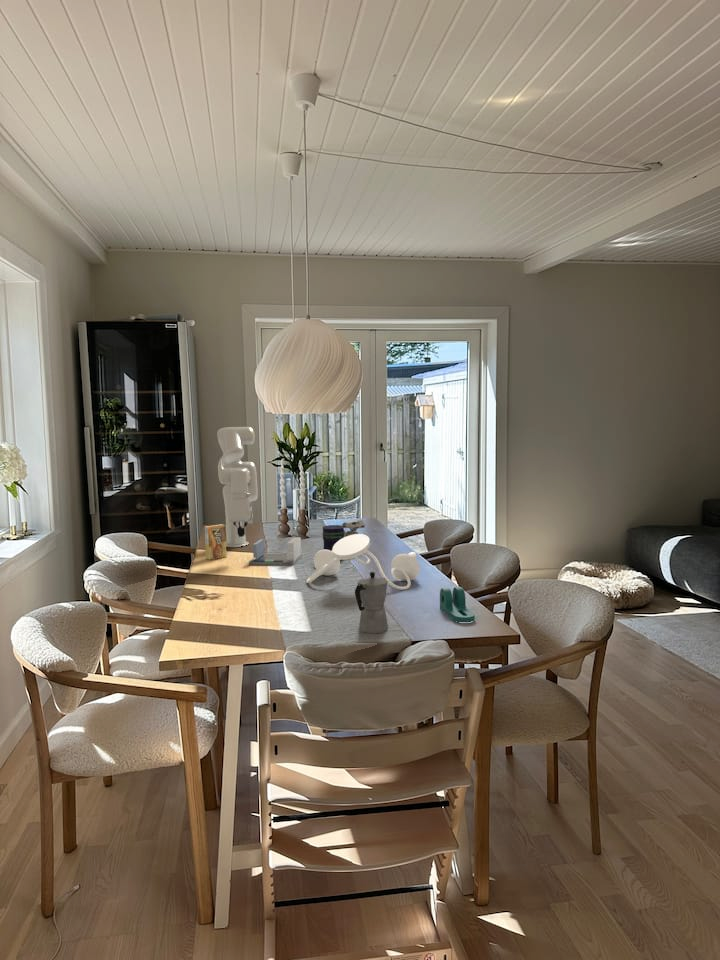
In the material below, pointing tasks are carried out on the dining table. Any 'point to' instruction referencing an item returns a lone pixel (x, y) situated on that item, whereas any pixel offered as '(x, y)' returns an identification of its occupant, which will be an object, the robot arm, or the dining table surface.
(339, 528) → the storage jar
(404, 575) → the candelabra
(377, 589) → the coffeepot
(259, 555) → the pressure plate
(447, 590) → the bracket
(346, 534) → the figurine
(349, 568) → the dining table surface
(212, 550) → the candy box
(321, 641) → the dining table surface
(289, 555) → the gauge housing
